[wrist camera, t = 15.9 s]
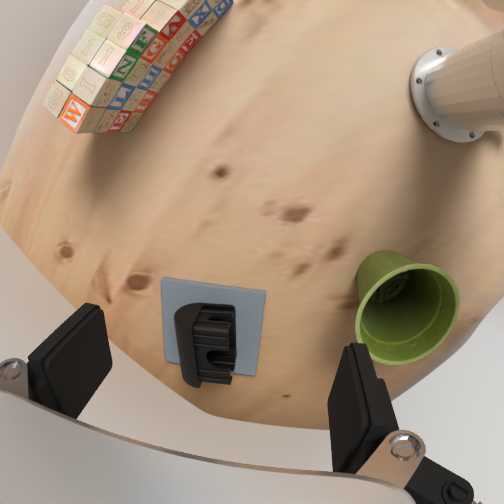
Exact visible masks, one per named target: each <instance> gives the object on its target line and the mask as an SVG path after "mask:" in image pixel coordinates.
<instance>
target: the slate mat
mask: <svg viewBox="0 0 504 504" xmlns="http://www.w3.org/2000/svg"><path fill="white" fill-rule="evenodd" d="M265 295H266V291H264V290H255V289H247V288H240V287H232V286H224V285H217V284H209V283H202V282H195V281H188V280H181V279H174V278H167V277H163V278H162V279H161V296H162V316H163V332H164V346H165V358H166V361H169V362H174V363H179V364H180V359H179V352H178V345H177V339H176V331H175V324H174V314H175V312H176V311H177V310H178V309H179V308H180V307H182V306H184V305H187V304H191V303H199V302H201V303H213V304H228V305H233V306H234V307H235V309H236V346H237V357H236V363H235V369H234V372H230V373H237V374H244V375H252V376H256V369H257V361H258V353H259V345H260V337H261V329H262V321H263V312H264V304H265Z"/></svg>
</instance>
